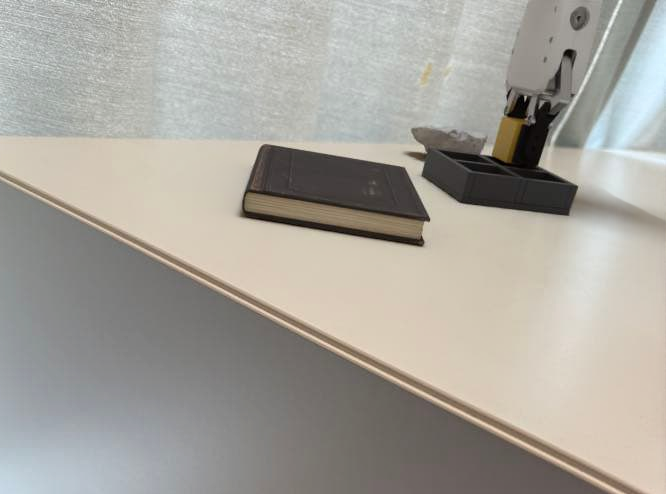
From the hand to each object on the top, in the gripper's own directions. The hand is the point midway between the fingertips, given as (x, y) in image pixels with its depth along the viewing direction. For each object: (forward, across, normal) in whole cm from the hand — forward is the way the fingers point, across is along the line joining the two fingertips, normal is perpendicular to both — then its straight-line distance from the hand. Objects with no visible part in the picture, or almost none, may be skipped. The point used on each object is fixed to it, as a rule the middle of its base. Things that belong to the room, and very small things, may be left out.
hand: (515, 158), depth 93 cm
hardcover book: (+4, -16, +26) cm, 31 cm away
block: (0, 0, 0) cm, 0 cm away
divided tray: (+4, -3, +3) cm, 6 cm away
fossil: (+4, +16, +2) cm, 17 cm away
